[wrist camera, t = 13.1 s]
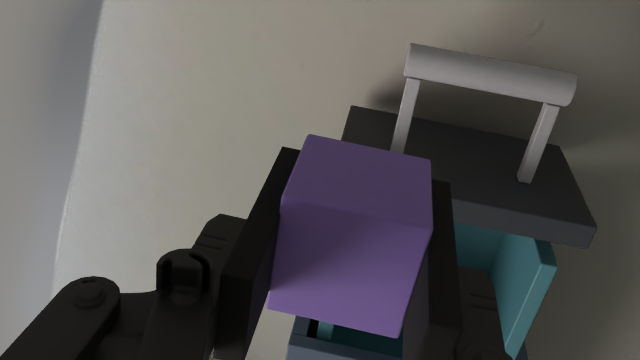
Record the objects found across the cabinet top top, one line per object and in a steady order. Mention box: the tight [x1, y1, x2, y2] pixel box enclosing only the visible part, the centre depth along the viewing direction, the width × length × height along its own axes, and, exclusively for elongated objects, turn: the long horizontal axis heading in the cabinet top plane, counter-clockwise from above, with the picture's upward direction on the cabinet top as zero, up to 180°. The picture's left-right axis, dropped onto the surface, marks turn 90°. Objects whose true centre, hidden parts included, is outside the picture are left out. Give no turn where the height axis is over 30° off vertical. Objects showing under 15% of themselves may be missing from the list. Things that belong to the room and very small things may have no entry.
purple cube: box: [266, 134, 433, 338], centre depth 17 cm, size 4×4×4 cm
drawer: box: [316, 43, 597, 360], centre depth 29 cm, size 19×11×8 cm, turn 172°
